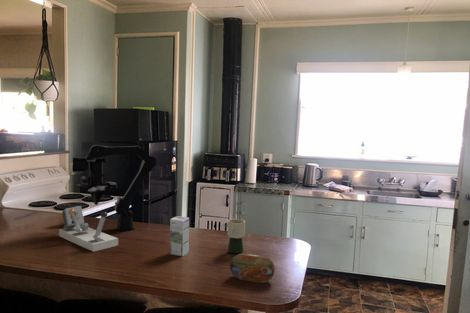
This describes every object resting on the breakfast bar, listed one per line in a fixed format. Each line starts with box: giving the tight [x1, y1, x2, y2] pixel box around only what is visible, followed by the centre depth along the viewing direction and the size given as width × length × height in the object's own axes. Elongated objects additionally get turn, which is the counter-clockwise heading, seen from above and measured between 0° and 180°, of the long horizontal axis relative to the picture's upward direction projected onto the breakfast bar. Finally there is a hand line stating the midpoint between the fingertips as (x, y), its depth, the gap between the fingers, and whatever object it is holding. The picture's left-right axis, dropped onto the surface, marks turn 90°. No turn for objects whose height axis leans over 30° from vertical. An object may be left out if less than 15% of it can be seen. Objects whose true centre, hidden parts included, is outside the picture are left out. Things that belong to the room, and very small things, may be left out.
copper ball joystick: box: [68, 209, 83, 233], centre depth 150 cm, size 3×3×12 cm
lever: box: [93, 211, 108, 240], centre depth 144 cm, size 3×3×12 cm
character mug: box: [227, 218, 246, 254], centre depth 142 cm, size 11×7×13 cm, turn 156°
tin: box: [229, 252, 276, 284], centre depth 116 cm, size 15×3×8 cm, turn 69°
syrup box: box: [169, 216, 190, 257], centre depth 139 cm, size 6×6×14 cm
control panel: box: [58, 226, 119, 252], centre depth 152 cm, size 11×30×3 cm, turn 51°
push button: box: [80, 222, 89, 230], centre depth 158 cm, size 4×4×2 cm
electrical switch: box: [61, 205, 85, 225], centre depth 177 cm, size 9×5×9 cm, turn 152°
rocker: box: [63, 224, 75, 229], centre depth 157 cm, size 3×4×1 cm
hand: (96, 204), depth 165 cm, fingers closed
